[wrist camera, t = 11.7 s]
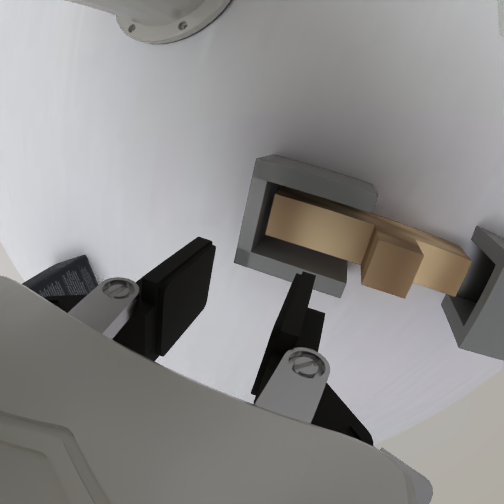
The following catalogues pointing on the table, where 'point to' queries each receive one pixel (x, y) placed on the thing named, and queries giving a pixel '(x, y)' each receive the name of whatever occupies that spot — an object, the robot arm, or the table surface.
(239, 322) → the table surface
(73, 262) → the box
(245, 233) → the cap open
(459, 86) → the table surface
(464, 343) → the channel bracket
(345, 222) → the slat
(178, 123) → the table surface
